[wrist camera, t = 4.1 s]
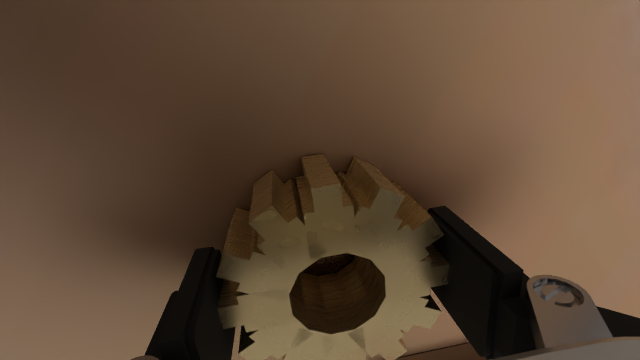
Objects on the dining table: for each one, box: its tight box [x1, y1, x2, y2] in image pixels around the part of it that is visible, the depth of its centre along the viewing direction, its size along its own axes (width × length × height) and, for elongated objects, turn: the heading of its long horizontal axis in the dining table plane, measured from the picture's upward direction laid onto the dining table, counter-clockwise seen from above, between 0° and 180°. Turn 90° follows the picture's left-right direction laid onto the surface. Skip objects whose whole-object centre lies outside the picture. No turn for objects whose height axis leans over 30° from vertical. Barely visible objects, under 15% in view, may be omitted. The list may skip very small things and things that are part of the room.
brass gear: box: [216, 154, 449, 360], centre depth 11 cm, size 7×7×3 cm
